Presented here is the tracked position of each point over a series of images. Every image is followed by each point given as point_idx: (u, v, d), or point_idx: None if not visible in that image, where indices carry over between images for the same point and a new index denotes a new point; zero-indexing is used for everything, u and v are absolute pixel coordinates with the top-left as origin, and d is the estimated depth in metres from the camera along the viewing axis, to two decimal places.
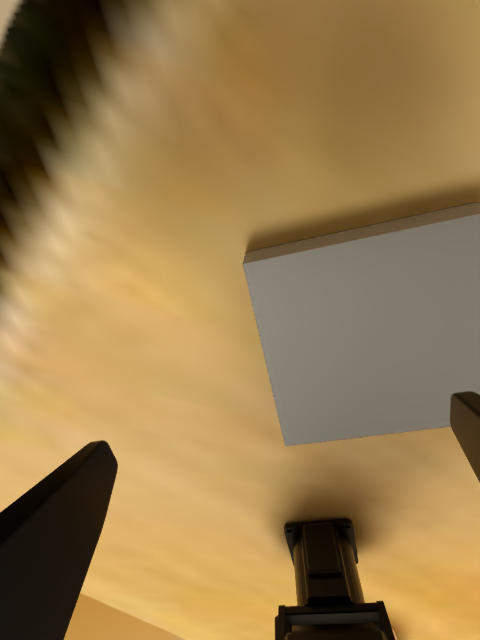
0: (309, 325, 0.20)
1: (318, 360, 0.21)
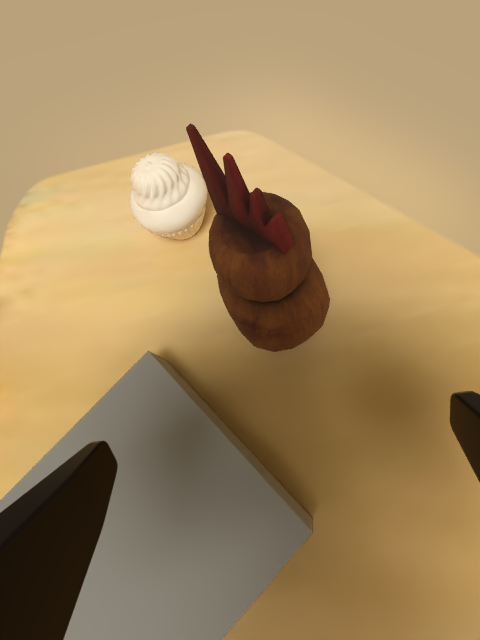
0: None
1: None
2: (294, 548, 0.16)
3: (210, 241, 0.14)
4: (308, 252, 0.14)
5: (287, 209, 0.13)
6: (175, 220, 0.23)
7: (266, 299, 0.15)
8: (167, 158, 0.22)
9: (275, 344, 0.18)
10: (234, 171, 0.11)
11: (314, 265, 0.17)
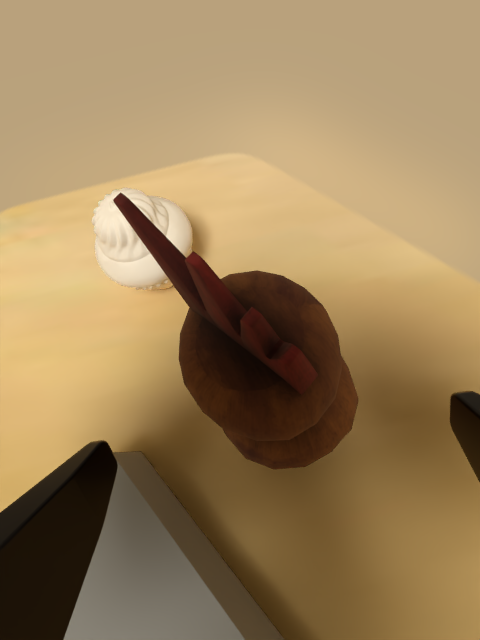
0: None
1: None
2: None
3: (180, 354, 0.09)
4: (338, 375, 0.09)
5: (304, 310, 0.08)
6: (150, 273, 0.18)
7: None
8: (138, 196, 0.17)
9: None
10: (209, 282, 0.06)
11: None
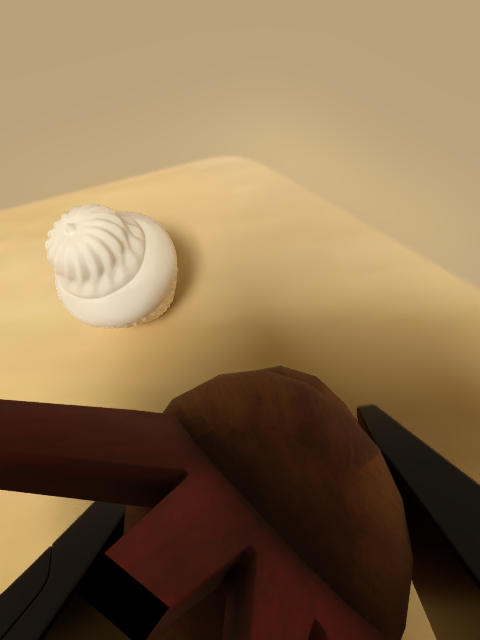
0: None
1: None
2: None
3: None
4: (409, 588, 0.05)
5: (351, 484, 0.04)
6: (122, 312, 0.14)
7: None
8: (104, 216, 0.13)
9: None
10: None
11: None
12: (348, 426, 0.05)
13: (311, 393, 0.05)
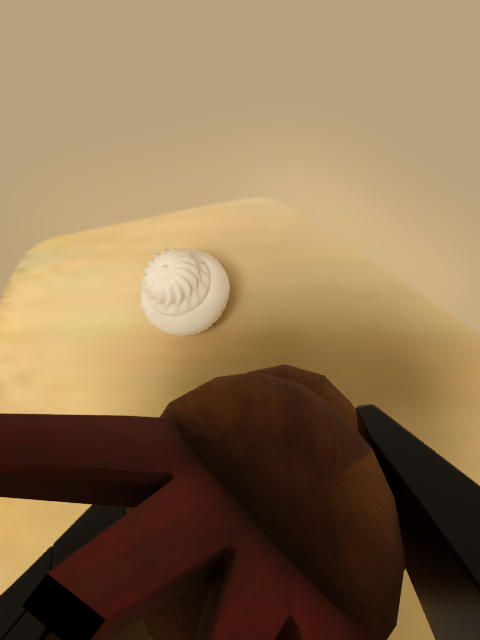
0: None
1: None
2: None
3: None
4: (401, 587, 0.05)
5: (337, 485, 0.04)
6: (193, 326, 0.20)
7: None
8: (186, 259, 0.19)
9: None
10: None
11: None
12: (337, 428, 0.05)
13: (302, 395, 0.05)
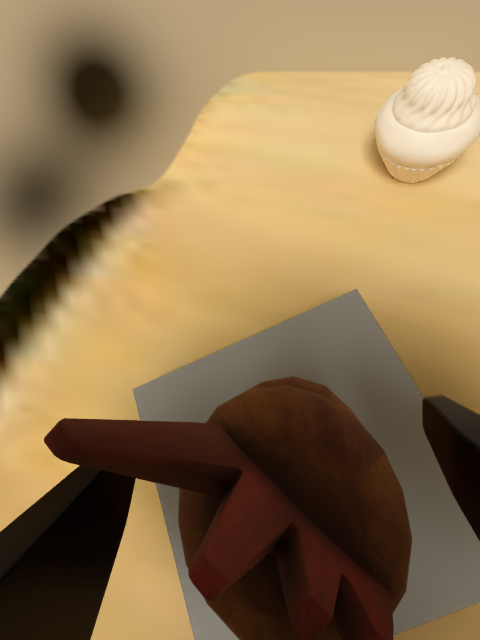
0: None
1: None
2: None
3: (180, 523, 0.06)
4: (409, 561, 0.06)
5: (364, 478, 0.06)
6: (435, 151, 0.19)
7: None
8: (469, 68, 0.18)
9: None
10: (235, 580, 0.03)
11: None
12: (359, 433, 0.06)
13: (329, 406, 0.07)
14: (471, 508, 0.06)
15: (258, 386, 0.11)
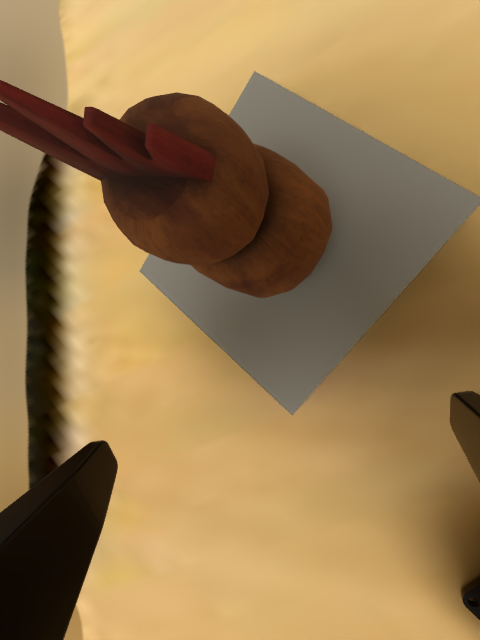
0: None
1: (239, 295, 0.20)
2: (460, 220, 0.15)
3: None
4: (247, 152, 0.08)
5: (177, 107, 0.08)
6: None
7: (234, 251, 0.10)
8: None
9: (286, 286, 0.14)
10: (30, 104, 0.06)
11: (276, 159, 0.12)
12: (178, 93, 0.09)
13: (159, 96, 0.09)
14: None
15: None
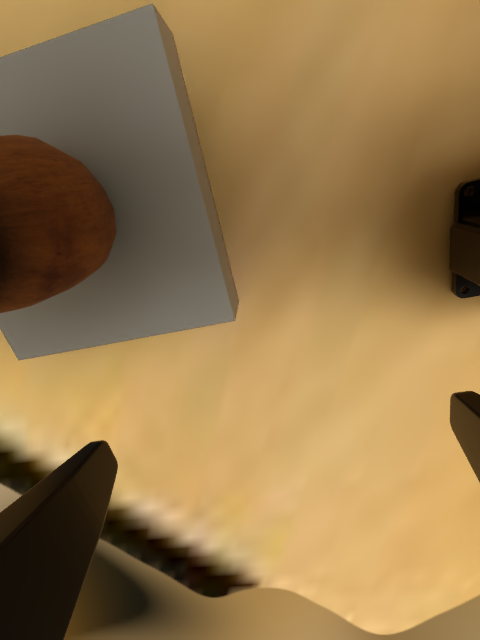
0: (61, 300, 0.18)
1: (100, 288, 0.18)
2: (158, 41, 0.13)
3: None
4: None
5: None
6: None
7: None
8: None
9: (91, 241, 0.12)
10: None
11: None
12: None
13: None
14: None
15: None
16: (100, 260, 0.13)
